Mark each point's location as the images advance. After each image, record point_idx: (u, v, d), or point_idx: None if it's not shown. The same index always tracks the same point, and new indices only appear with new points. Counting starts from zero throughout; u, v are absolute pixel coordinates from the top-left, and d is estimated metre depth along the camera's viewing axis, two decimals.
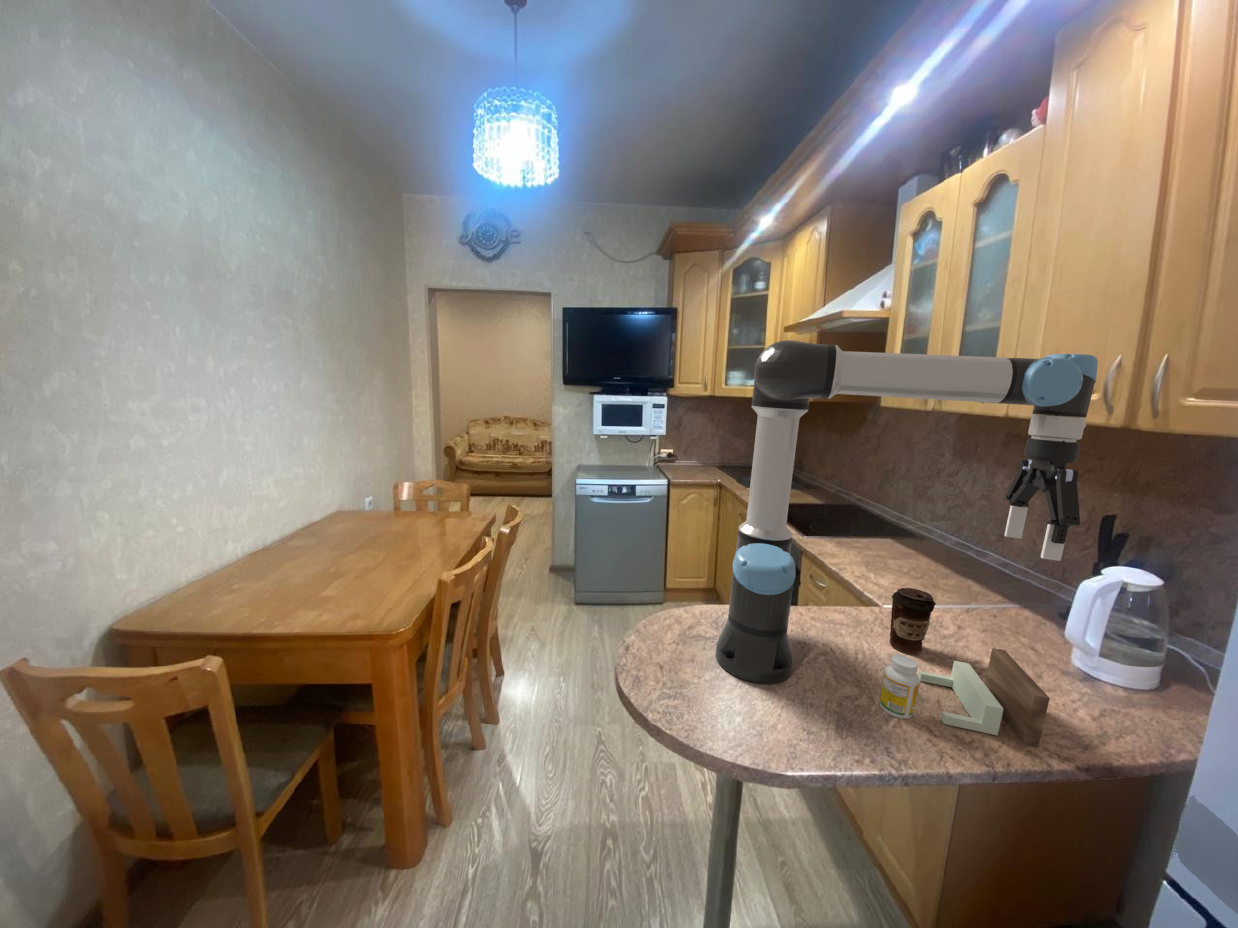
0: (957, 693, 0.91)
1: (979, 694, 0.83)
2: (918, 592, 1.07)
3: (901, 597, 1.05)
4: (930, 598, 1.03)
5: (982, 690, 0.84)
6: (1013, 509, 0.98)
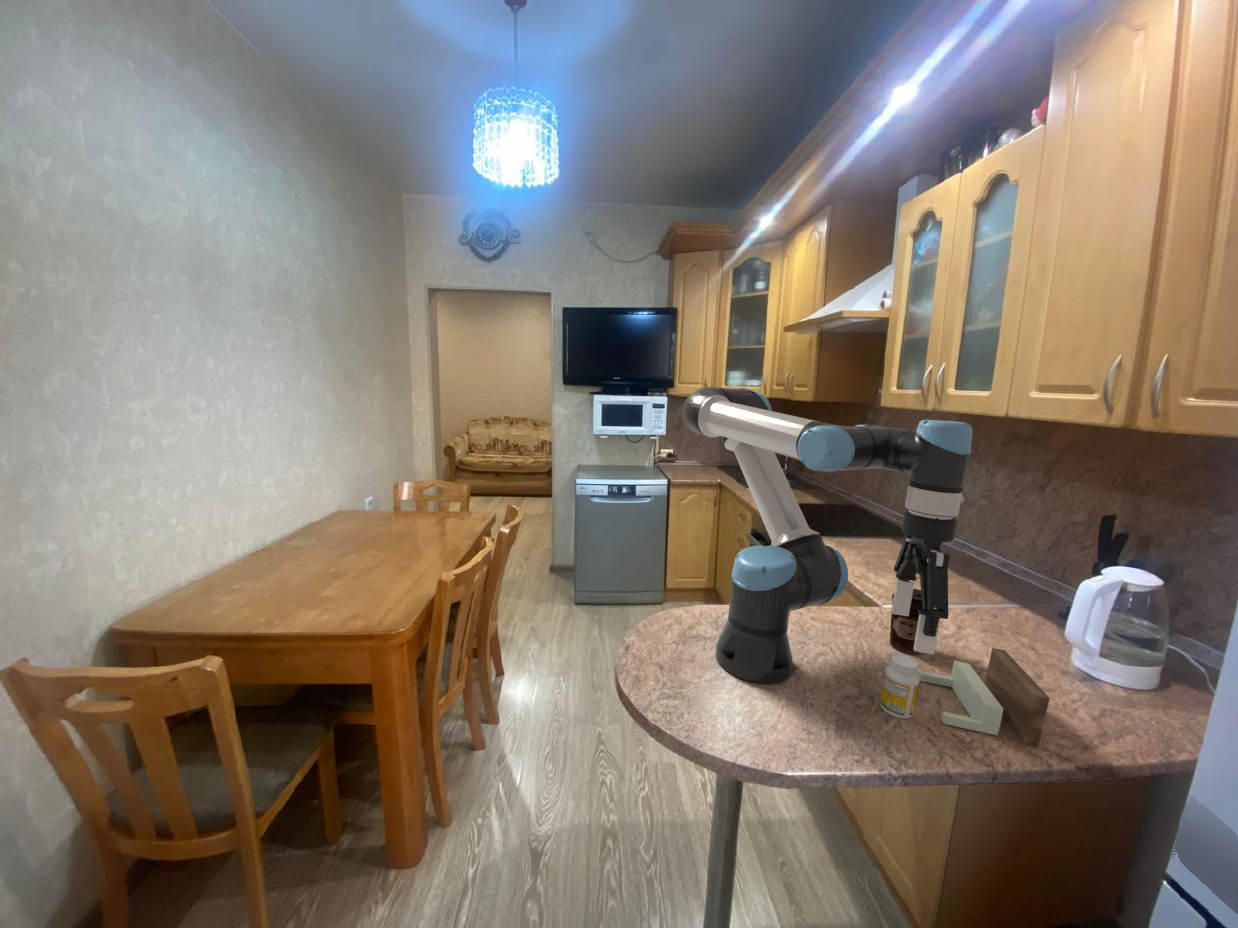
0: (957, 693, 0.91)
1: (979, 694, 0.83)
2: (918, 592, 1.07)
3: None
4: None
5: (982, 690, 0.84)
6: (899, 584, 0.89)
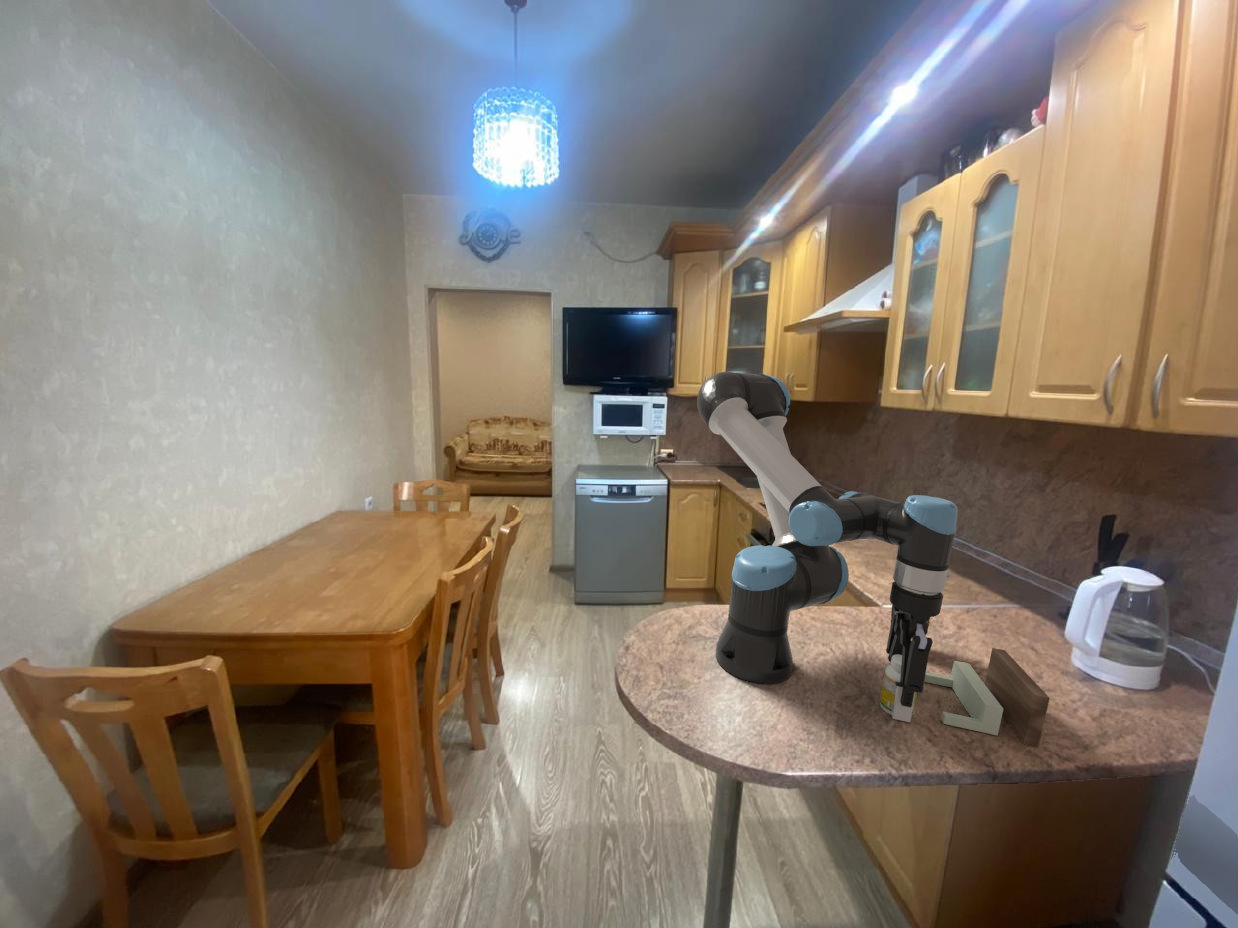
0: (957, 693, 0.91)
1: (979, 694, 0.83)
2: None
3: None
4: None
5: (982, 690, 0.84)
6: None
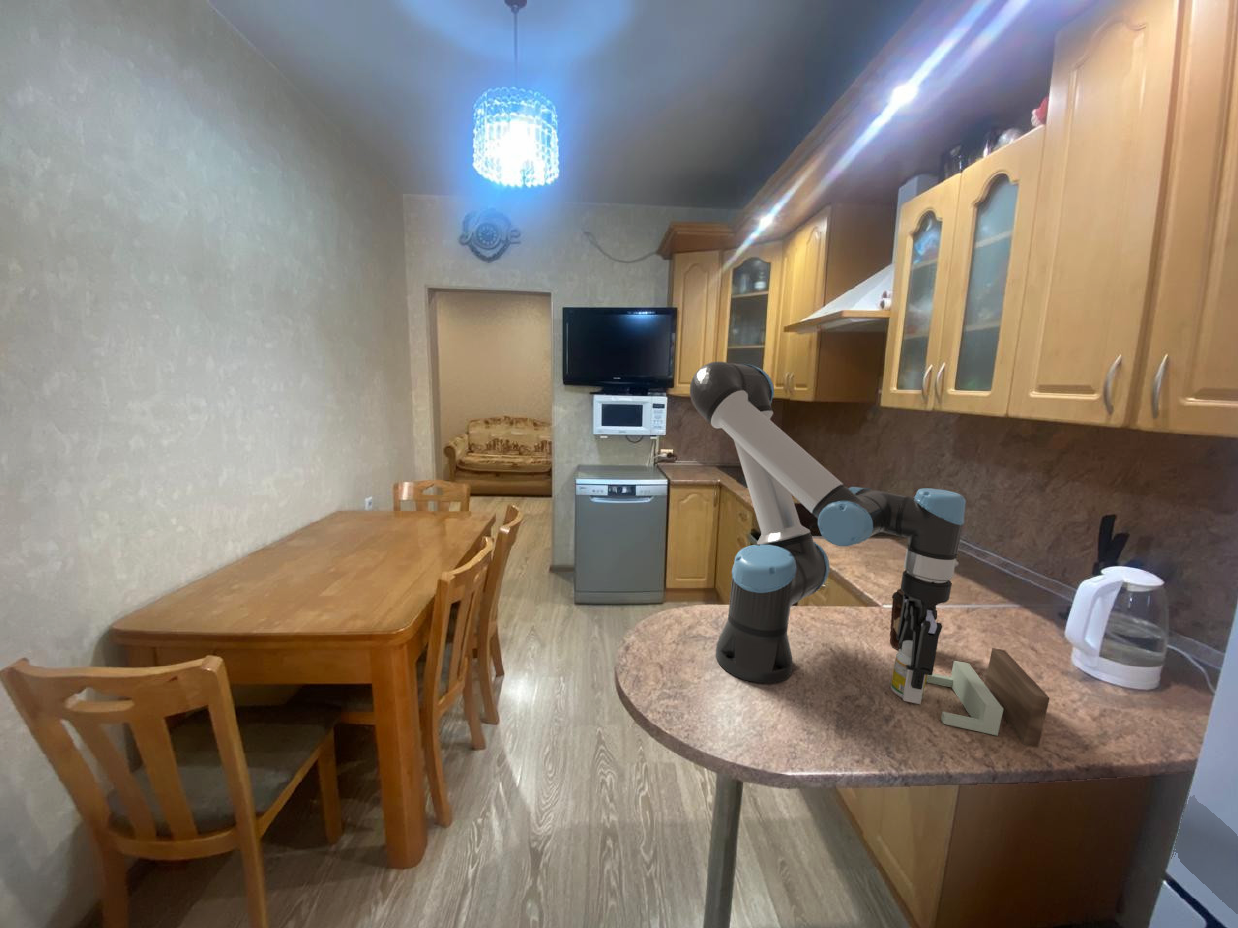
0: (957, 693, 0.91)
1: (979, 694, 0.83)
2: None
3: (901, 597, 1.05)
4: None
5: (982, 690, 0.84)
6: None
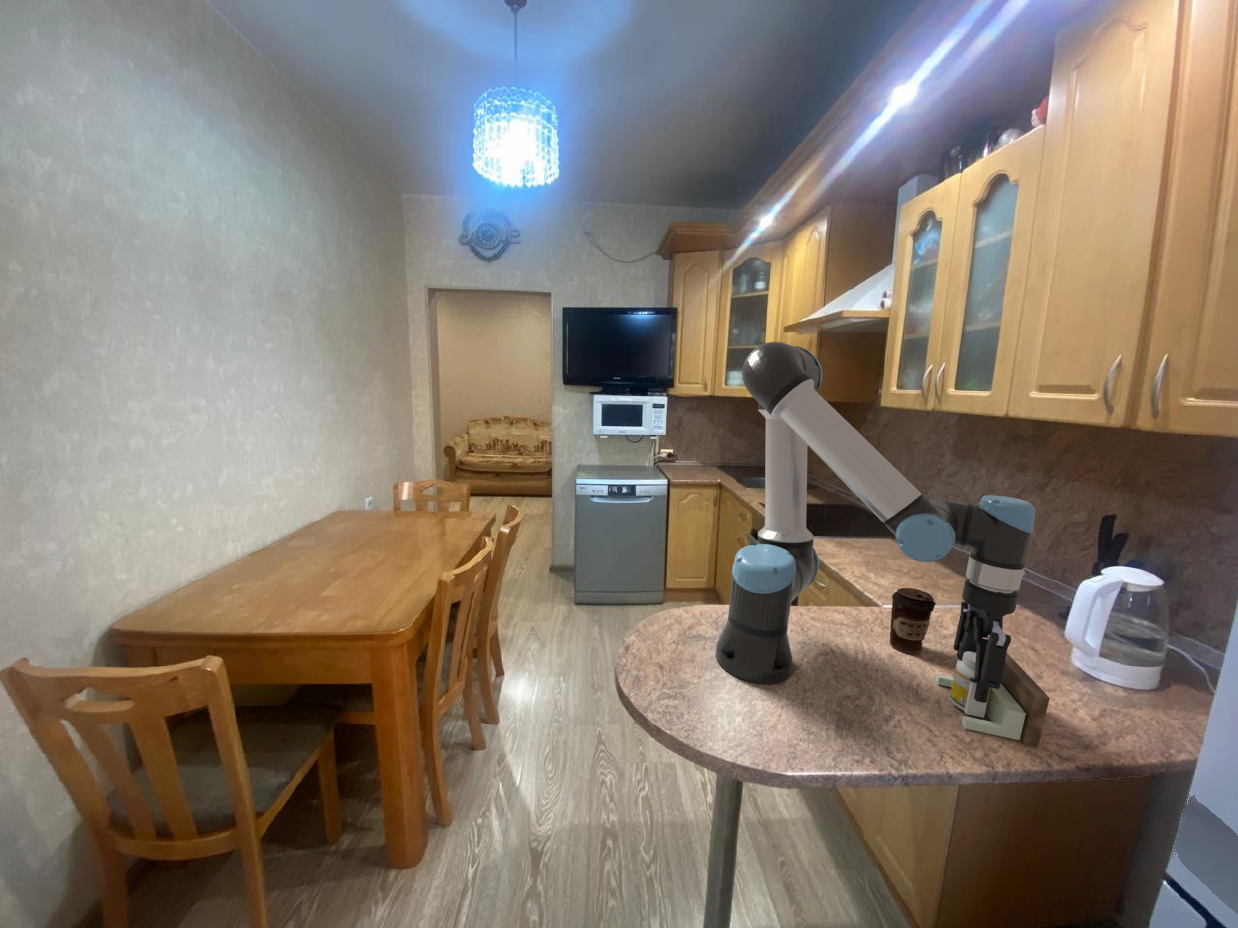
0: None
1: (1000, 698, 0.82)
2: (918, 592, 1.07)
3: (901, 597, 1.05)
4: (930, 598, 1.03)
5: (1003, 694, 0.83)
6: None
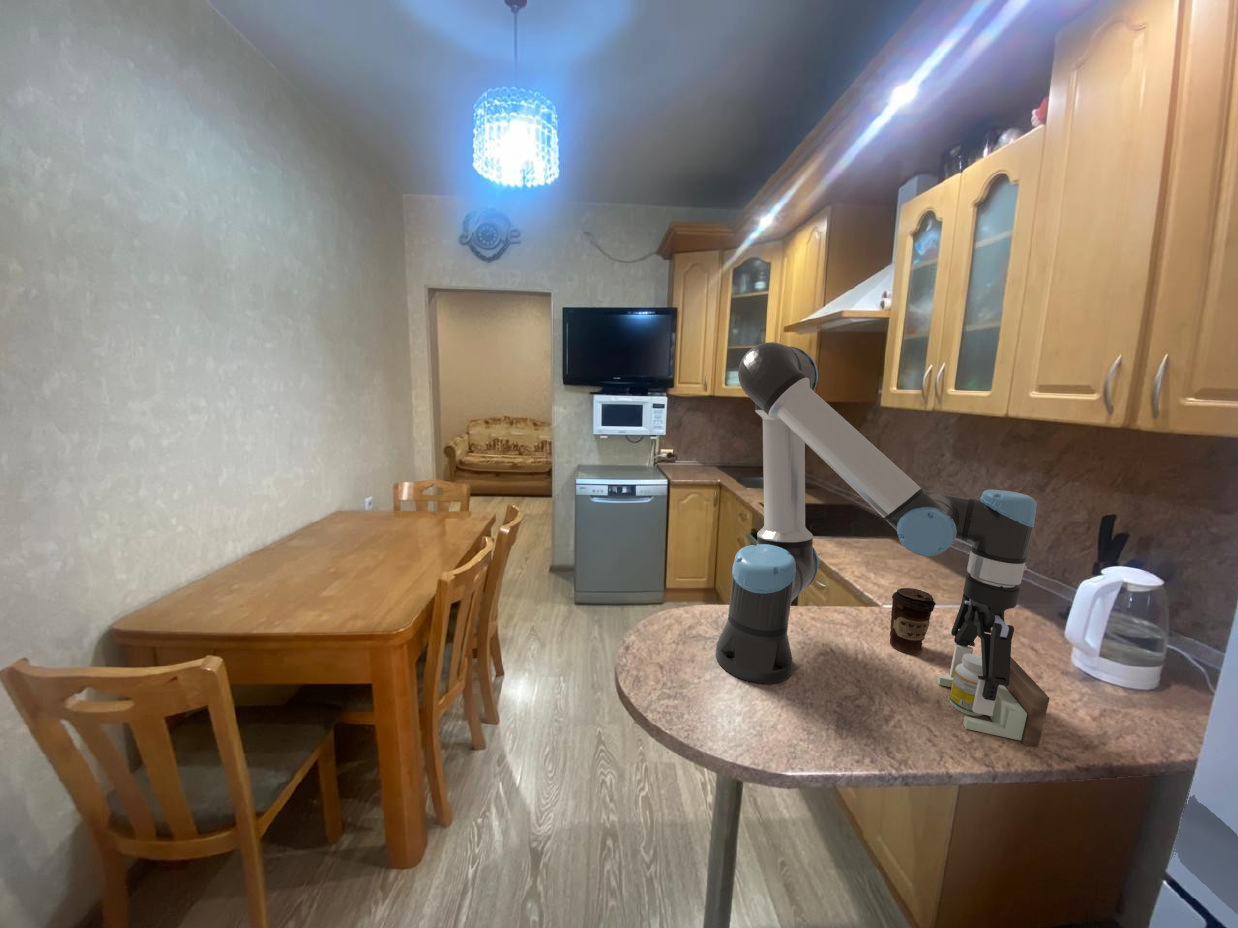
0: None
1: (1001, 699, 0.82)
2: (918, 592, 1.07)
3: (901, 597, 1.05)
4: (930, 598, 1.03)
5: (1004, 694, 0.83)
6: (958, 649, 0.91)
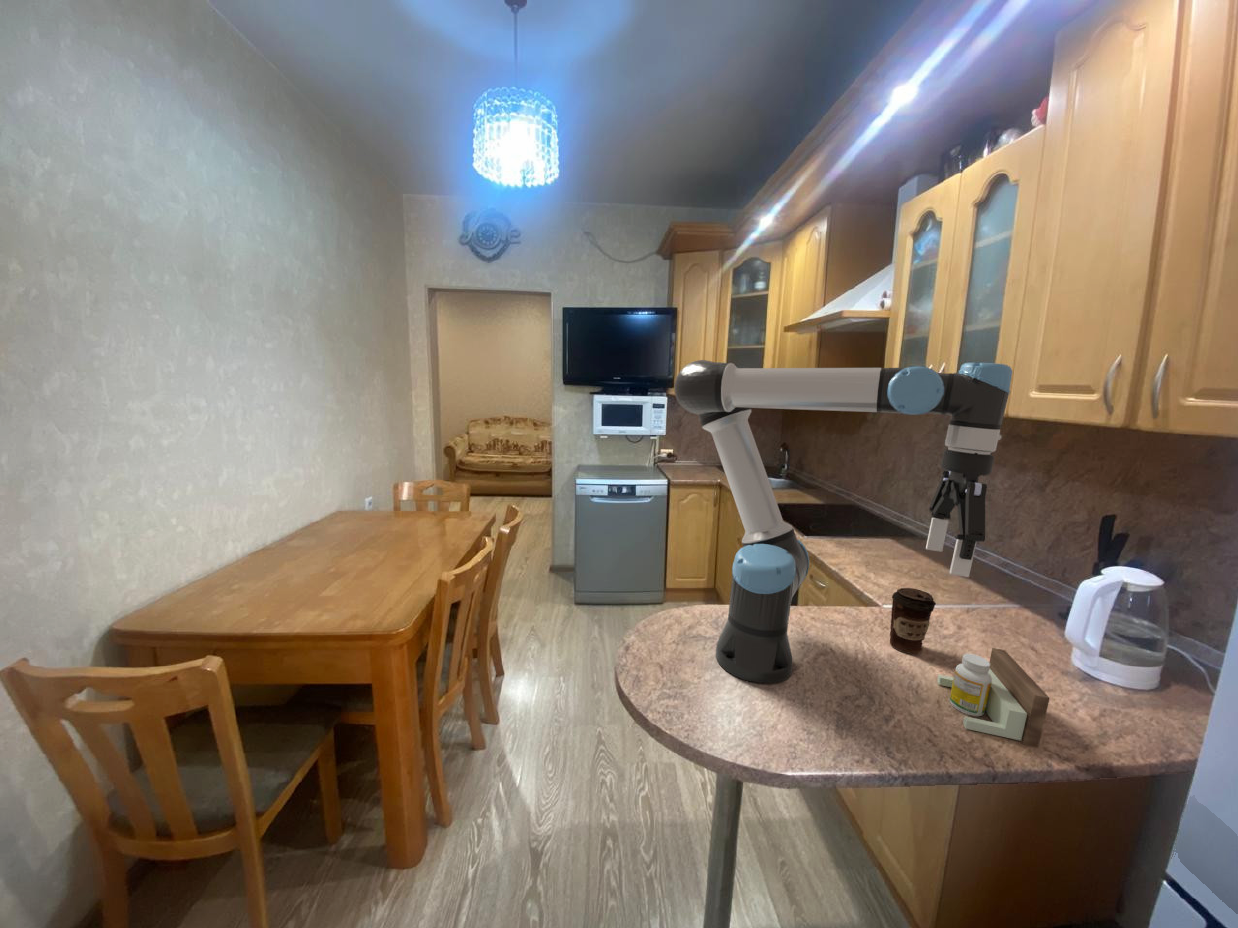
0: None
1: (1001, 699, 0.82)
2: (918, 592, 1.07)
3: (901, 597, 1.05)
4: (930, 598, 1.03)
5: (1004, 694, 0.83)
6: (934, 521, 0.95)
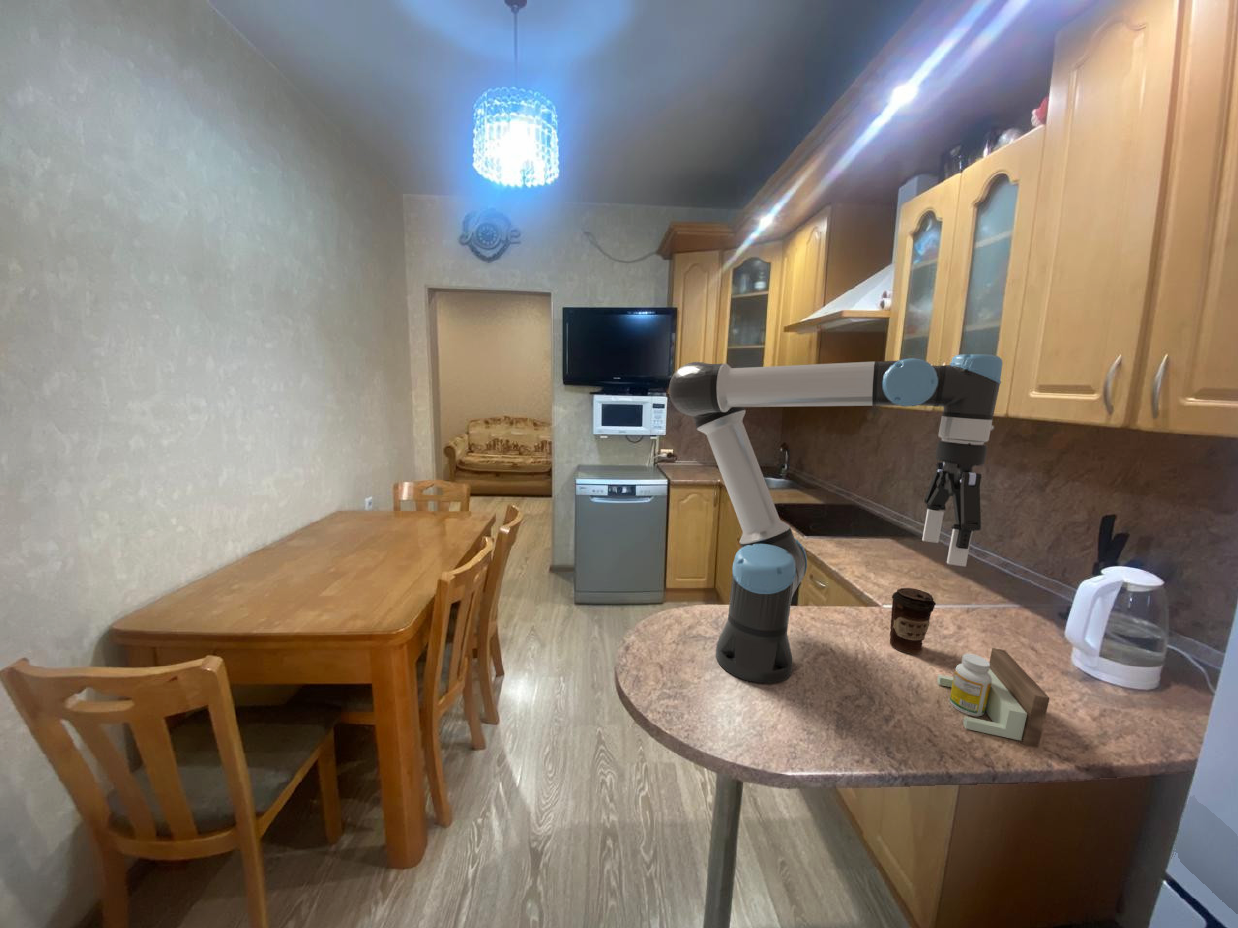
0: None
1: (1001, 699, 0.82)
2: (918, 592, 1.07)
3: (901, 597, 1.05)
4: (930, 598, 1.03)
5: (1004, 694, 0.83)
6: (929, 513, 0.96)
